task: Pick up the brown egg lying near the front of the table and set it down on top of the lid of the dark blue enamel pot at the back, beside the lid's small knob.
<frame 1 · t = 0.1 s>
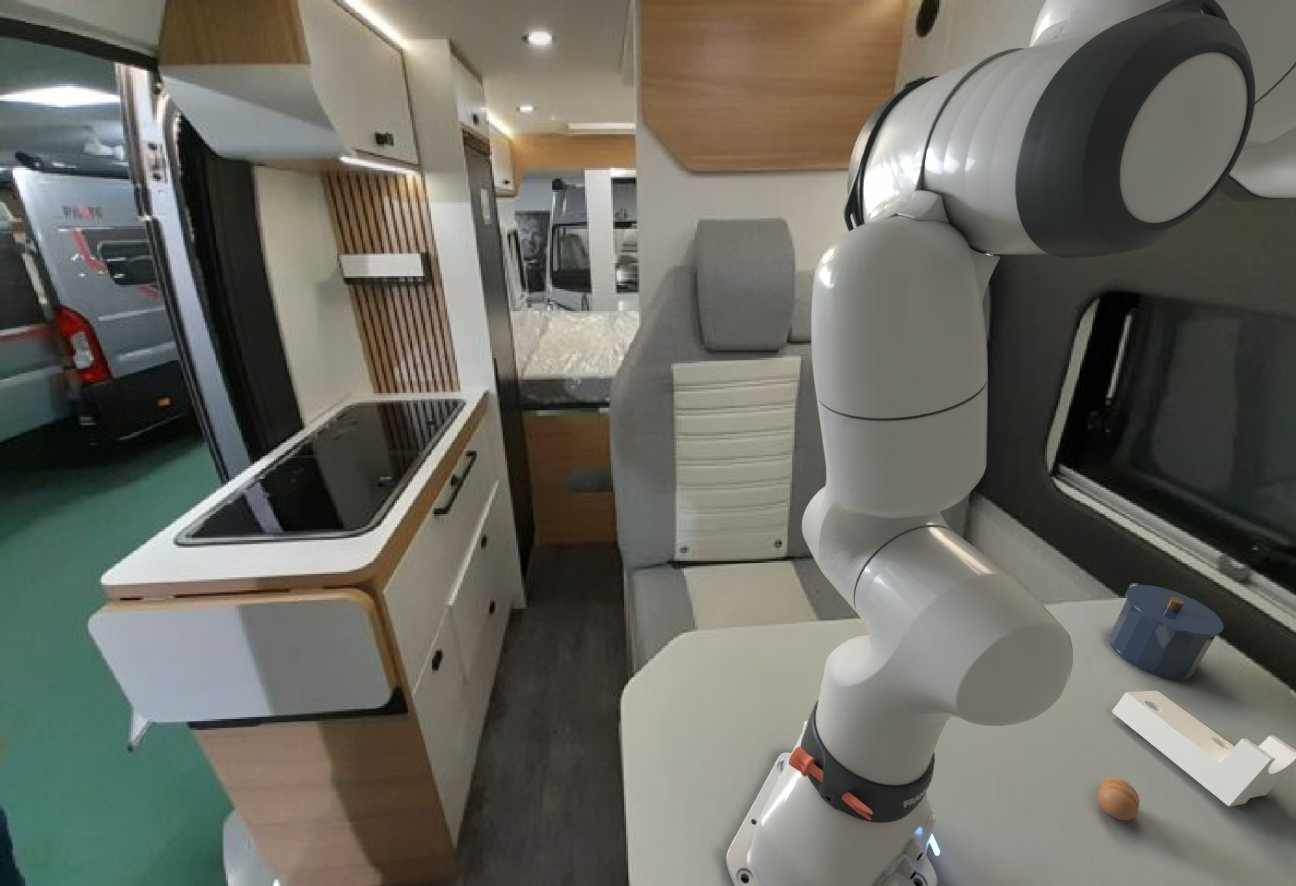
pot lid: (1171, 610, 80), point 8 cm above the table, touching pot
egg: (1113, 807, 62), on the table
pot: (1149, 653, 83), on the table
bracket: (1186, 752, 68), on the table
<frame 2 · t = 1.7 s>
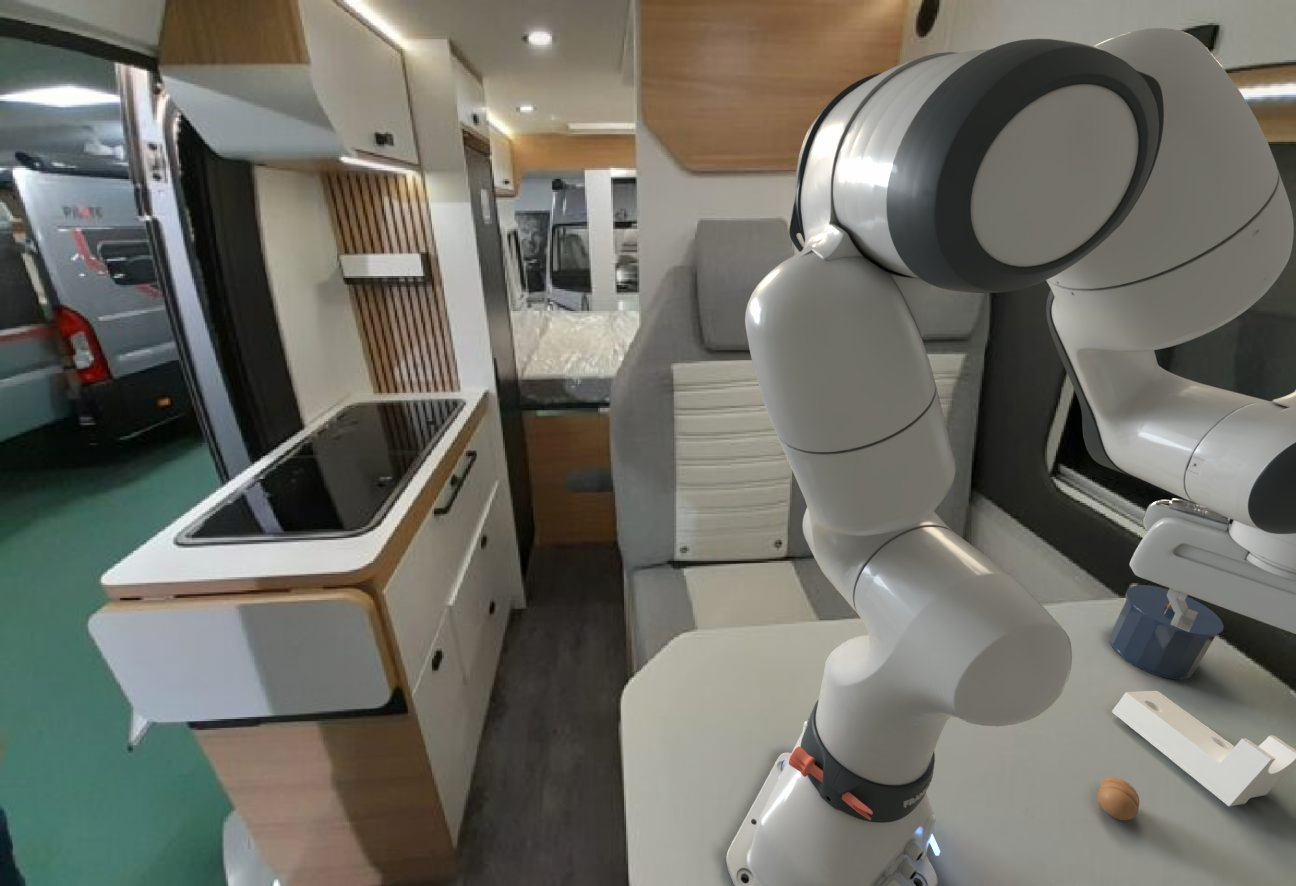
hand: (1245, 651, 53), 23 cm above the table, tool pointing down, fingers open, 8 cm apart
nothing on the table moved.
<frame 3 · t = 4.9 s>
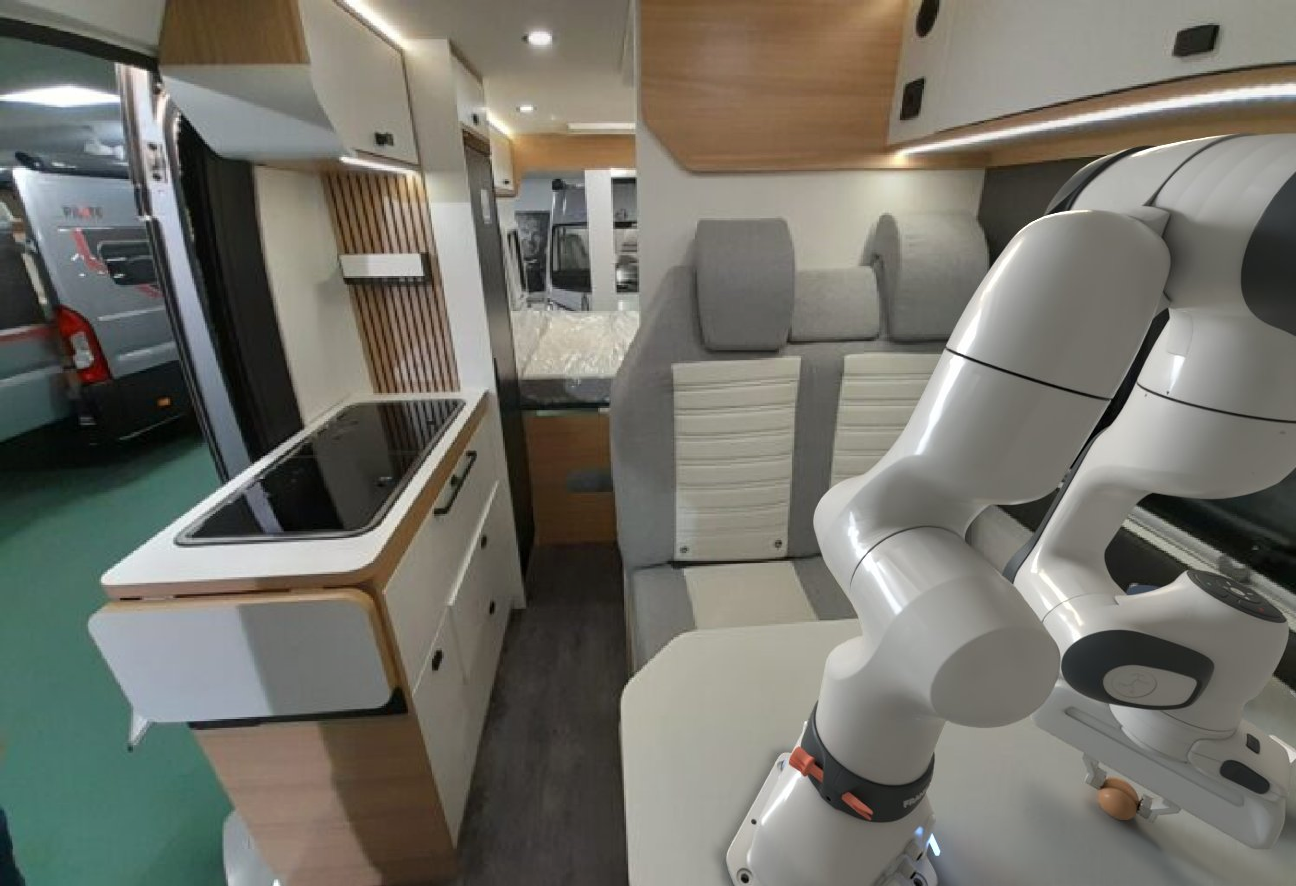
hand: (1118, 798, 61), 2 cm above the table, tool pointing down, fingers closed on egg, 3 cm apart
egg: (1112, 807, 62), on the table, touching gripper
everything else where it was.
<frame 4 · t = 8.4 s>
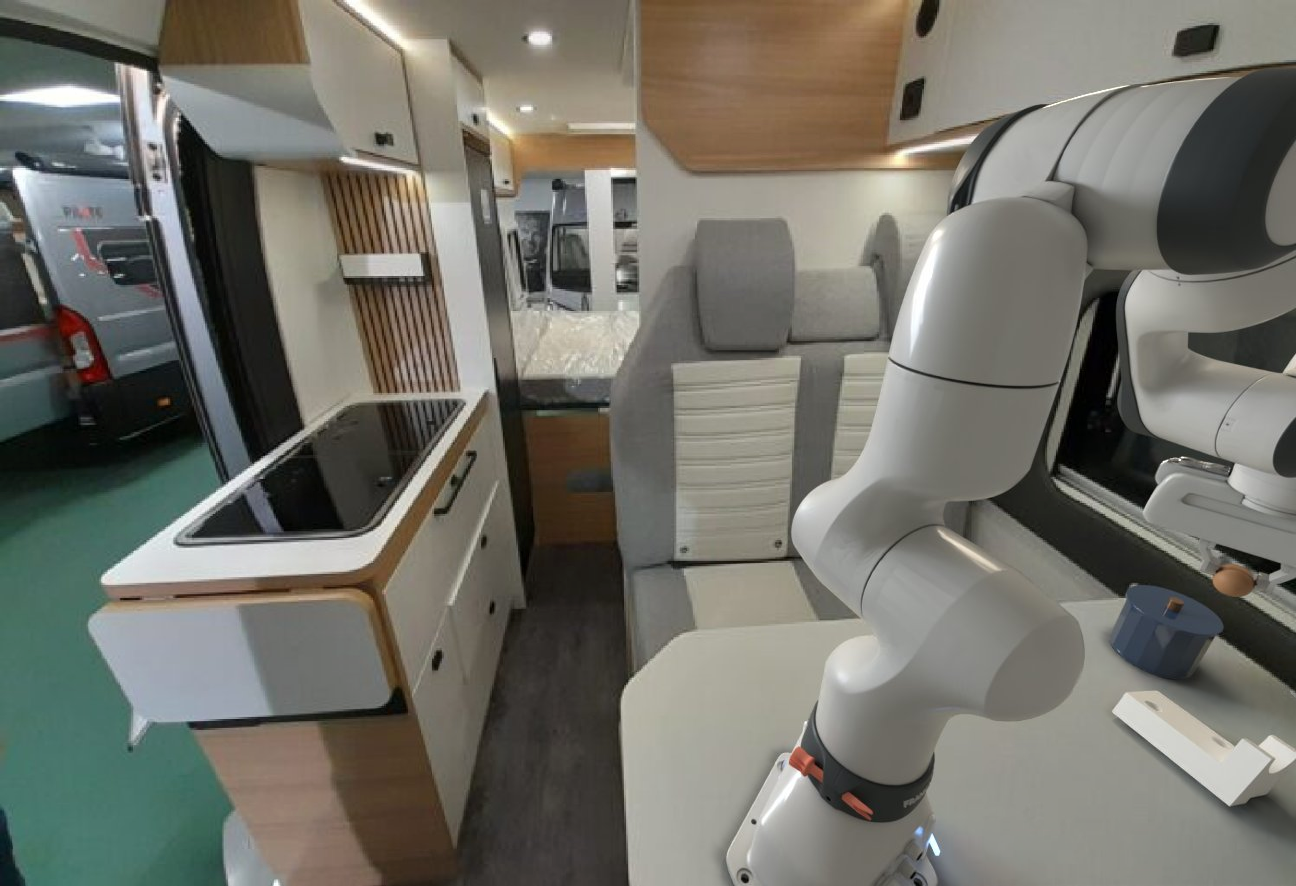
hand: (1233, 580, 65), 22 cm above the table, tool pointing down, fingers closed on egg, 3 cm apart
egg: (1227, 591, 66), point 20 cm above the table, touching gripper
everything else where it was.
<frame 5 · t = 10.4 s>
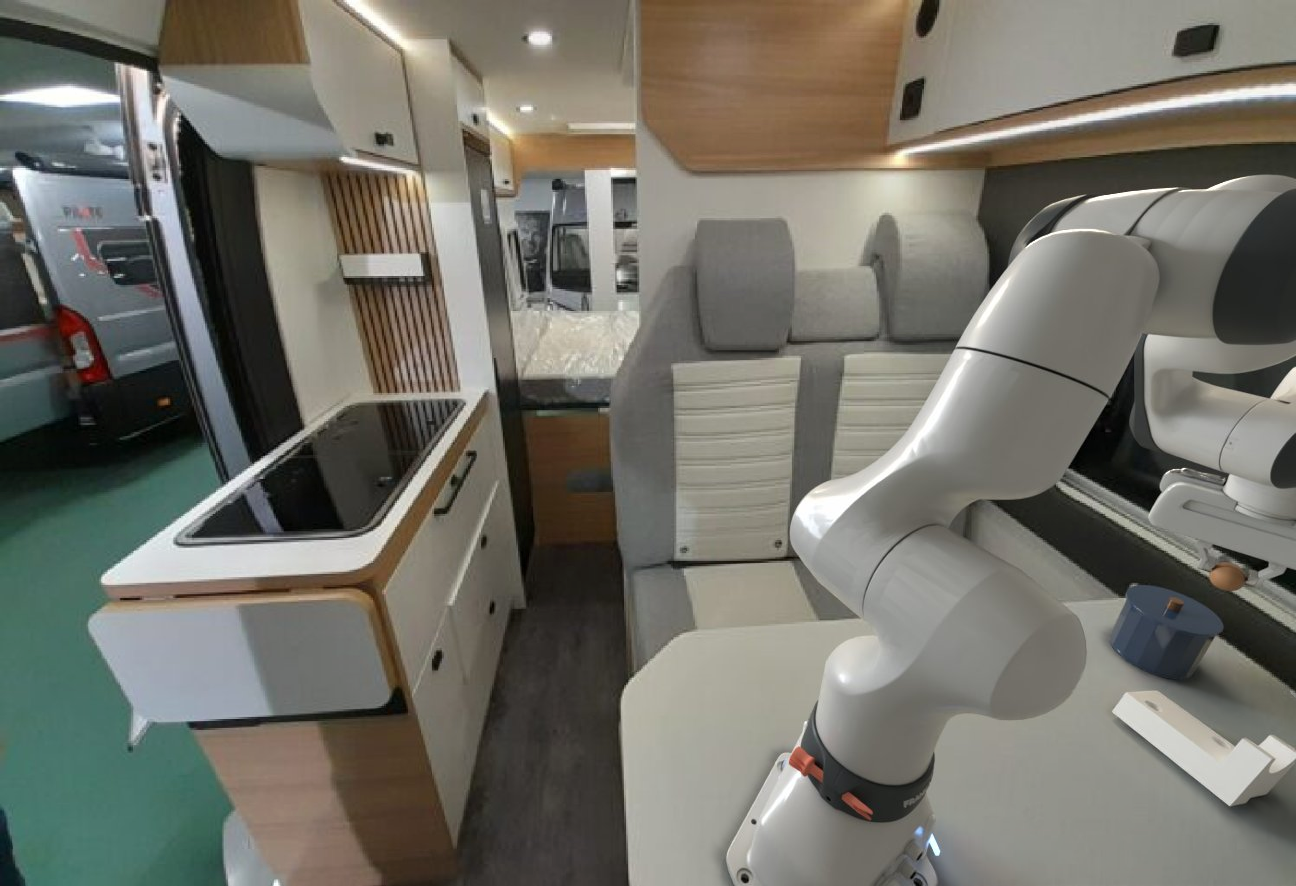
hand: (1227, 576, 74), 17 cm above the table, tool pointing down, fingers closed on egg, 3 cm apart
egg: (1222, 586, 75), point 15 cm above the table, touching gripper
everything else where it was.
when the fingers open (11 cm above the table, at t = 12.1 s): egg stays where it is, resting on pot lid.
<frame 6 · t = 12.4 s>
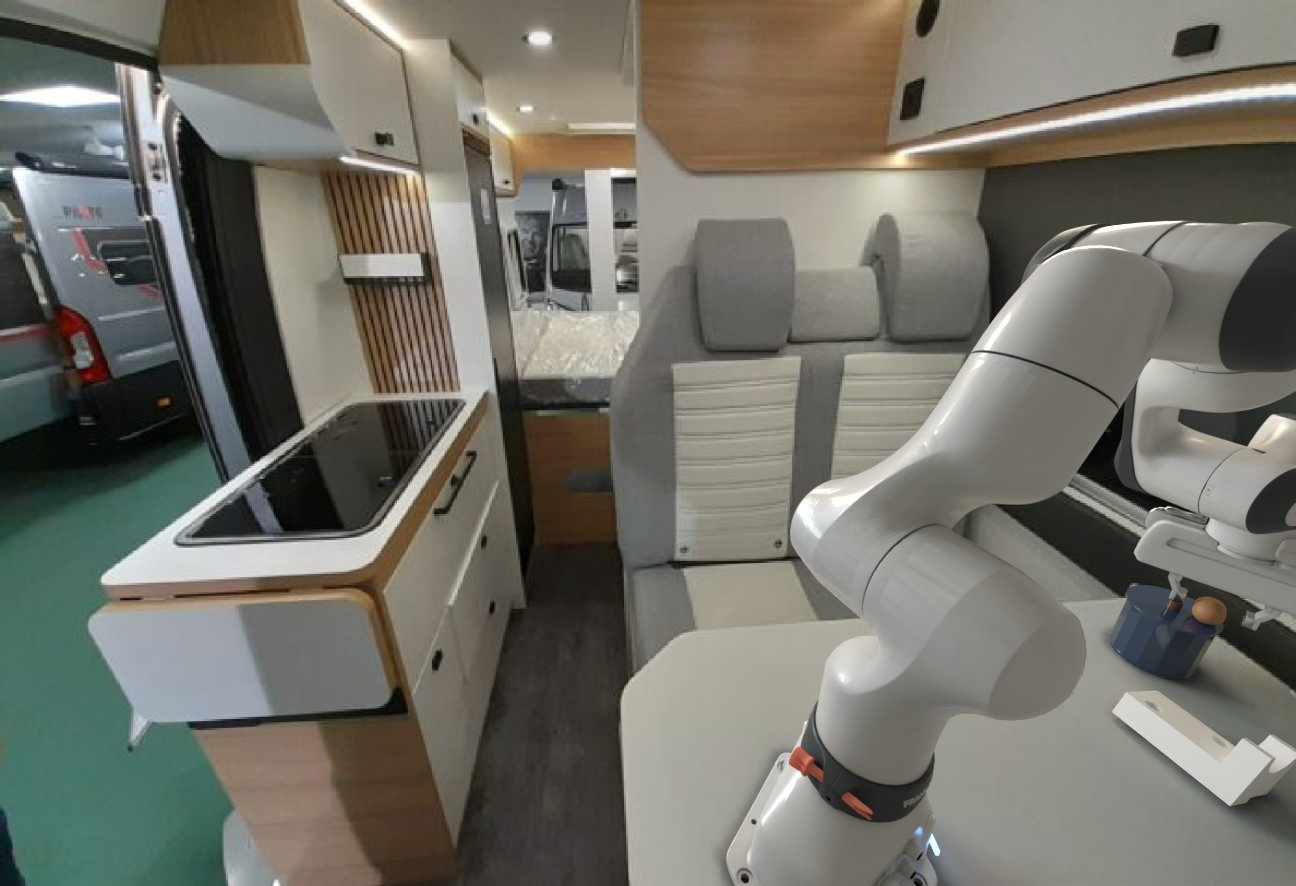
hand: (1210, 612, 77), 11 cm above the table, tool pointing down, fingers open, 6 cm apart
pot lid: (1171, 610, 80), point 8 cm above the table, touching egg, gripper, pot
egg: (1203, 619, 78), point 9 cm above the table, touching pot lid
everything else where it was.
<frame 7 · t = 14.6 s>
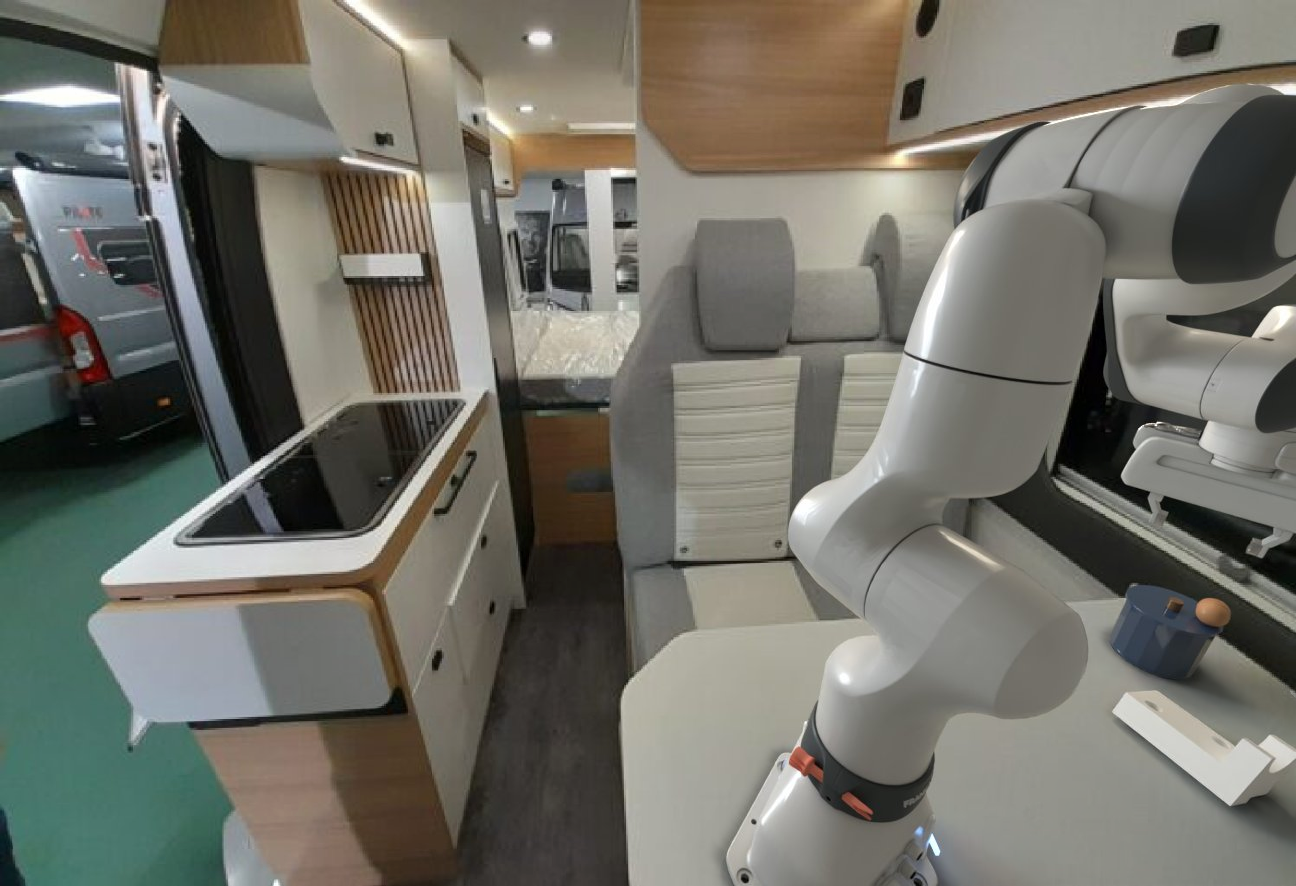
hand: (1202, 538, 70), 24 cm above the table, tool pointing down, fingers open, 8 cm apart
pot lid: (1171, 610, 80), point 8 cm above the table, touching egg, pot
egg: (1203, 619, 78), point 9 cm above the table, tilted 16°, touching pot lid
everything else where it was.
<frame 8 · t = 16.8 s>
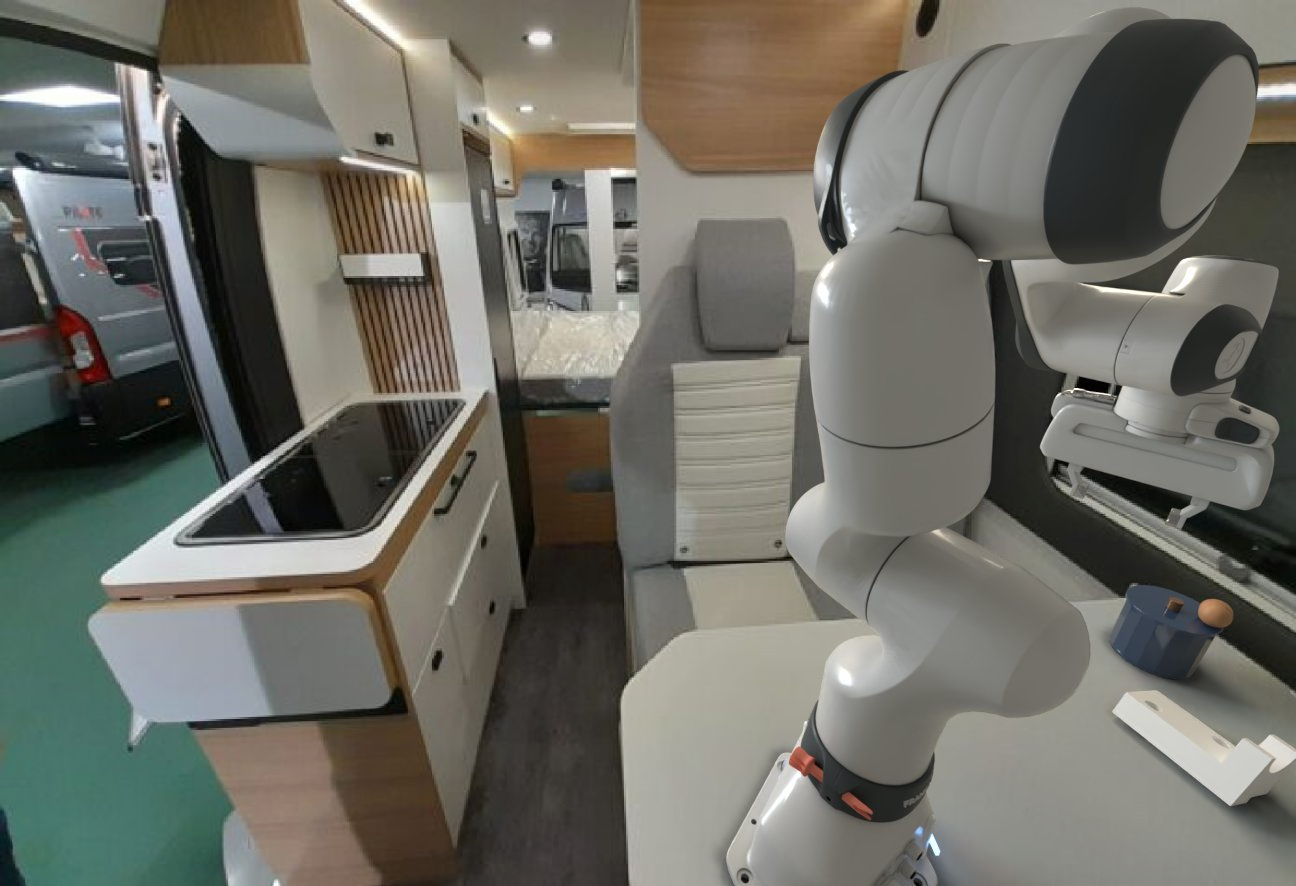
hand: (1122, 509, 67), 29 cm above the table, tool pointing down, fingers open, 8 cm apart
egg: (1204, 618, 78), point 9 cm above the table, tilted 25°, touching pot lid
everything else where it was.
at the end: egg inside the target area on the pot (1.3 cm from its centre), point 9.2 cm above the pot's base; the gripper is holding nothing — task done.
